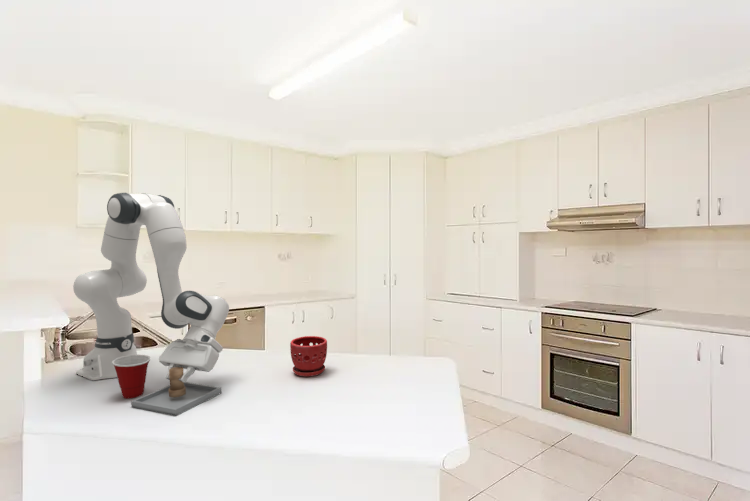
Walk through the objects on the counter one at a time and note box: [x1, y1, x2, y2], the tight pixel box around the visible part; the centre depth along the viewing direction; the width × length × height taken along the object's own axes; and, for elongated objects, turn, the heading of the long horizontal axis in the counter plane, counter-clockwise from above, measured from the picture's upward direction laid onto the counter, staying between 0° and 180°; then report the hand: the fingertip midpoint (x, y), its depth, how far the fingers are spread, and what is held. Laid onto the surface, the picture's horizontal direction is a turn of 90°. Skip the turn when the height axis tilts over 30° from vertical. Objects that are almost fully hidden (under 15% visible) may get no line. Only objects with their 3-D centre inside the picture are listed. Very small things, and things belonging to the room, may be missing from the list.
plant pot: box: [289, 335, 328, 378], centre depth 156 cm, size 13×13×12 cm
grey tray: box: [130, 381, 222, 417], centre depth 134 cm, size 18×18×2 cm
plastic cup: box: [112, 354, 152, 399], centre depth 139 cm, size 11×11×12 cm
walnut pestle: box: [168, 367, 186, 397], centre depth 134 cm, size 5×5×8 cm
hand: (175, 380), depth 133 cm, fingers closed on walnut pestle, 4 cm apart
